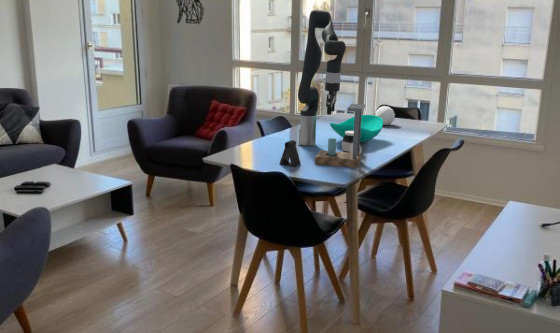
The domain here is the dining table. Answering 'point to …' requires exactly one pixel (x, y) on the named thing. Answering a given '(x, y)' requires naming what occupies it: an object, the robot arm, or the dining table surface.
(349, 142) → the spread jar
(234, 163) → the dining table surface
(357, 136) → the sheltered socket
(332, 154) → the peg
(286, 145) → the phone stand
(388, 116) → the geodesic sphere
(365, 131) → the table top decor
